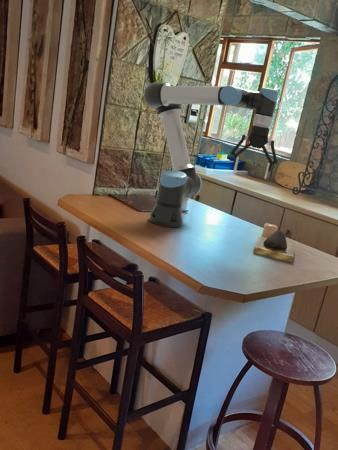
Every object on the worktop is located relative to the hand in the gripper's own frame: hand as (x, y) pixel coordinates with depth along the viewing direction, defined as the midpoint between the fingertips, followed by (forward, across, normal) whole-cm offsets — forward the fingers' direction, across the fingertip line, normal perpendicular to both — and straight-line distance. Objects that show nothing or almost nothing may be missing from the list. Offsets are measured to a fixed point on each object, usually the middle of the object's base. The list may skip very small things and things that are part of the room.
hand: (249, 175), depth 193 cm
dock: (+29, +18, -8) cm, 35 cm away
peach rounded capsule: (+29, +14, +9) cm, 33 cm away
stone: (+26, +18, -9) cm, 33 cm away
